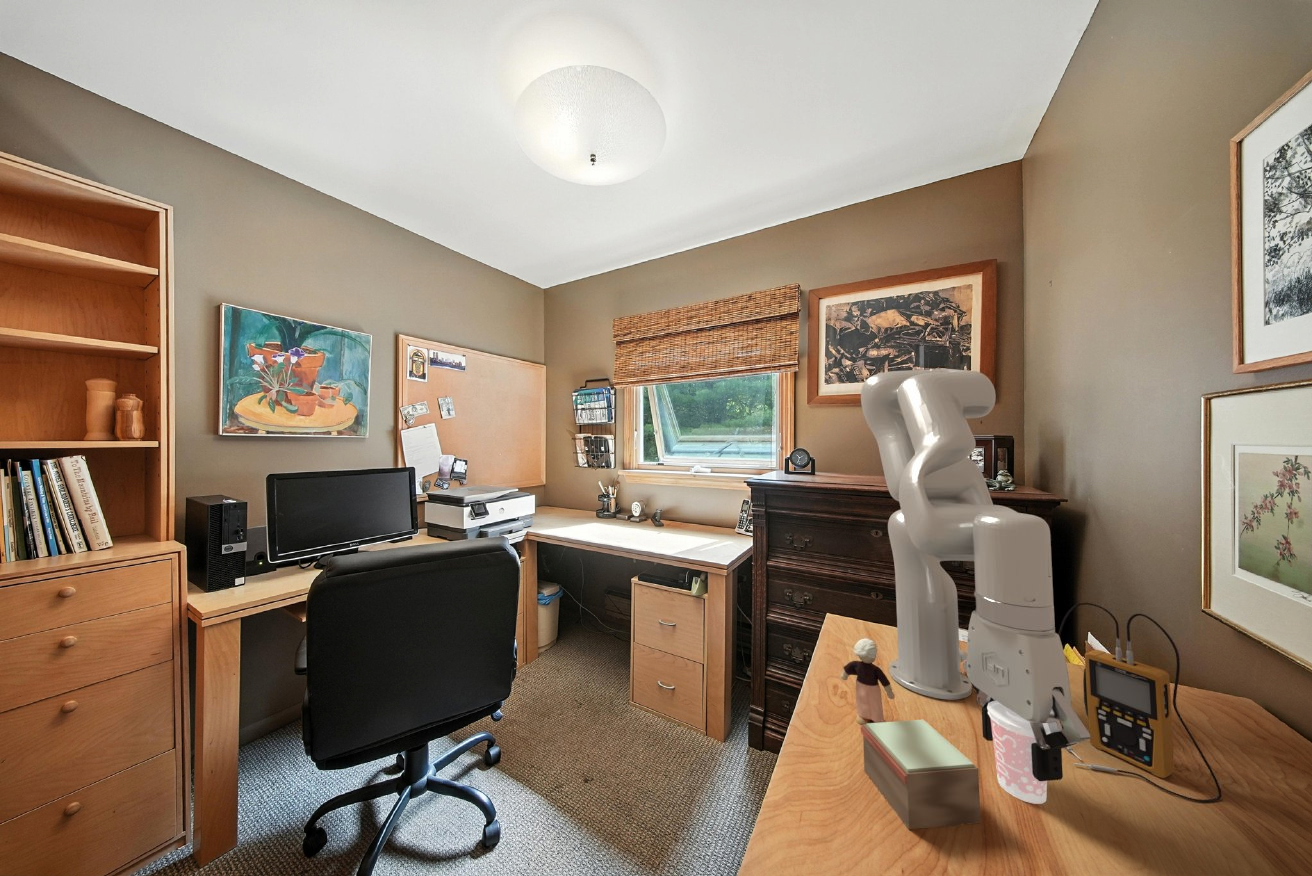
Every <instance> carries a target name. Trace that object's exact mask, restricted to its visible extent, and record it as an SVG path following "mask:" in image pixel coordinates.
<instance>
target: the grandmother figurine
mask: <svg viewBox="0 0 1312 876" xmlns="http://www.w3.org/2000/svg"><path fill="white" fill-rule="evenodd" d="M853 653H854V654H855V655H856V656H858V659H860V660H852V661H850V662H848V663H847V664H845V665H844V666H843V670H842V673H841V674H840V678H841V680H843V681H847V680H848V679H849V676H856V679H855V703H856V711H857V712H856V713H857V716H856V722H857V723H858V724H859V725H861V726H863V725H864V724H867V723H871V722H872V723H881V722H887V720H885V717H884V715H885V714H884V708H883V698H882V689H881V687H880V685H881V686H882V687H883V689H884V691H885V692H886V696H887V698H889V699H890V700H893V699H895V693H894V692H893V688H892V685H891V682H890V680H889V679H888V677H887V675H886V674H885V673H884V671H883V670H882V669H881V668H880V667H879V666H877V665H876V664H874V662H875V661H876V658H877V654H878V649H877V644H876V643H875V642H874V641H873V640H871V639H869V638H868V637H867V638H862V639H860V640H858V641H857V642H856V643H855V645H854V648H853ZM879 682H880V684H879Z"/></svg>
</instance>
